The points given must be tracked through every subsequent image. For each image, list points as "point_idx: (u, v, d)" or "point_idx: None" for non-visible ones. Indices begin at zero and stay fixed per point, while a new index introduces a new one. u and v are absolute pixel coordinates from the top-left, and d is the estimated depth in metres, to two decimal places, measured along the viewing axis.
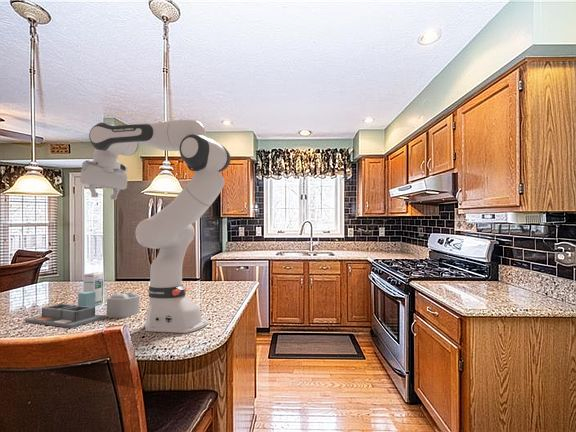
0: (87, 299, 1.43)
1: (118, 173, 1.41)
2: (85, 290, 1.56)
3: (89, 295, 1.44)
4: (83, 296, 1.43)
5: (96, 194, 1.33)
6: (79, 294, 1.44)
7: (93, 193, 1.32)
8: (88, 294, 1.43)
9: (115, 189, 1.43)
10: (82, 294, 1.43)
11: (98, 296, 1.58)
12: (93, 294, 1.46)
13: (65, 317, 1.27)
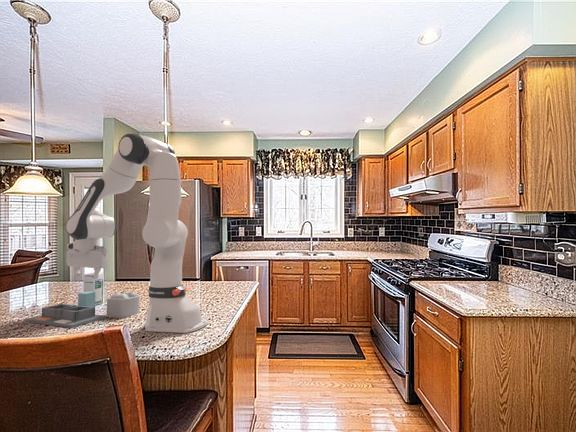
0: (87, 299, 1.43)
1: None
2: (85, 290, 1.56)
3: (89, 295, 1.44)
4: (83, 296, 1.43)
5: None
6: (79, 294, 1.44)
7: (96, 275, 1.44)
8: (88, 294, 1.43)
9: (78, 267, 1.48)
10: (82, 294, 1.43)
11: (98, 296, 1.58)
12: (93, 294, 1.46)
13: (65, 317, 1.27)
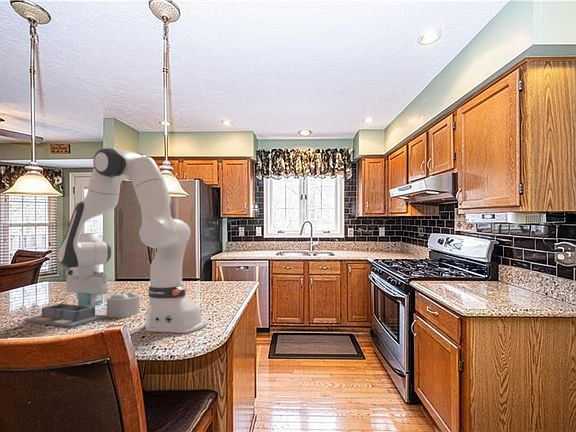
0: (87, 299, 1.43)
1: None
2: None
3: (89, 295, 1.44)
4: (83, 296, 1.43)
5: None
6: (79, 294, 1.44)
7: (93, 301, 1.44)
8: (88, 294, 1.43)
9: None
10: (82, 294, 1.43)
11: (98, 296, 1.58)
12: None
13: (65, 317, 1.27)
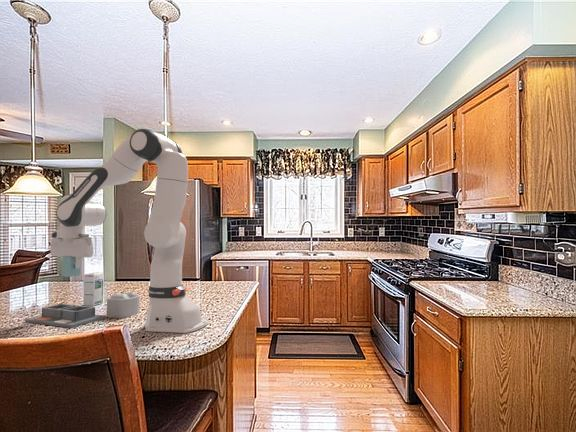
0: (71, 262, 1.36)
1: None
2: (85, 290, 1.56)
3: (74, 258, 1.38)
4: (67, 259, 1.37)
5: None
6: (63, 257, 1.37)
7: (78, 264, 1.38)
8: (73, 257, 1.37)
9: None
10: (66, 257, 1.37)
11: (98, 296, 1.58)
12: None
13: (65, 317, 1.27)
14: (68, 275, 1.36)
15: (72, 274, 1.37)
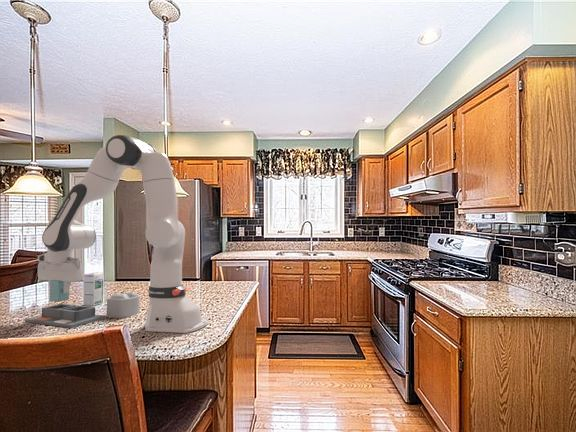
0: (59, 287, 1.32)
1: None
2: (85, 290, 1.56)
3: (62, 282, 1.33)
4: (55, 283, 1.32)
5: None
6: (51, 281, 1.33)
7: (66, 289, 1.33)
8: (61, 281, 1.32)
9: None
10: (54, 281, 1.32)
11: (98, 296, 1.58)
12: None
13: (65, 317, 1.27)
14: (56, 300, 1.31)
15: (60, 299, 1.32)
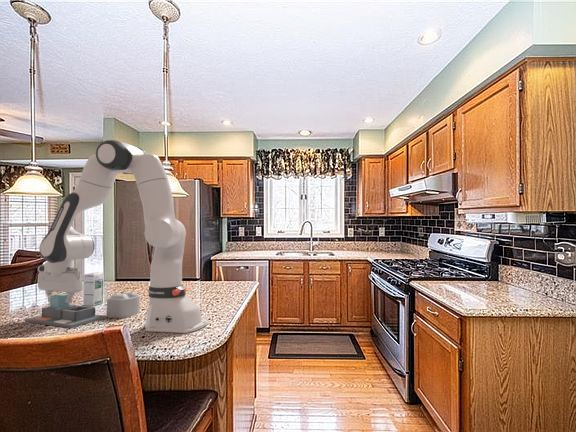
0: (59, 302, 1.31)
1: None
2: (85, 290, 1.56)
3: (62, 298, 1.33)
4: (55, 299, 1.32)
5: None
6: (51, 297, 1.32)
7: (70, 299, 1.32)
8: (61, 297, 1.32)
9: (51, 290, 1.36)
10: (54, 297, 1.32)
11: (98, 296, 1.58)
12: None
13: (65, 317, 1.27)
14: None
15: None
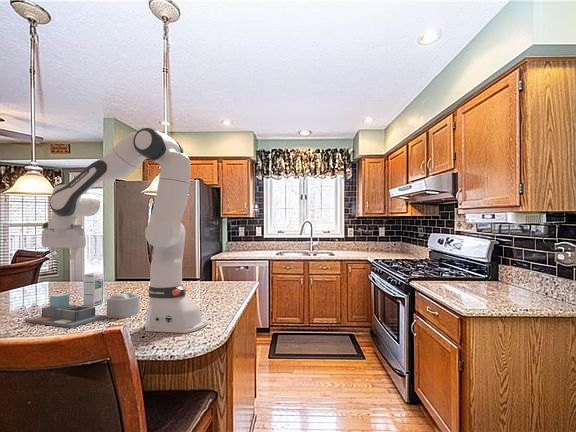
0: (59, 302, 1.31)
1: None
2: (85, 290, 1.56)
3: (62, 298, 1.33)
4: (55, 299, 1.32)
5: None
6: (51, 297, 1.32)
7: (73, 255, 1.35)
8: (61, 297, 1.32)
9: (55, 248, 1.39)
10: (54, 297, 1.32)
11: (98, 296, 1.58)
12: (67, 297, 1.34)
13: (65, 317, 1.27)
14: None
15: None
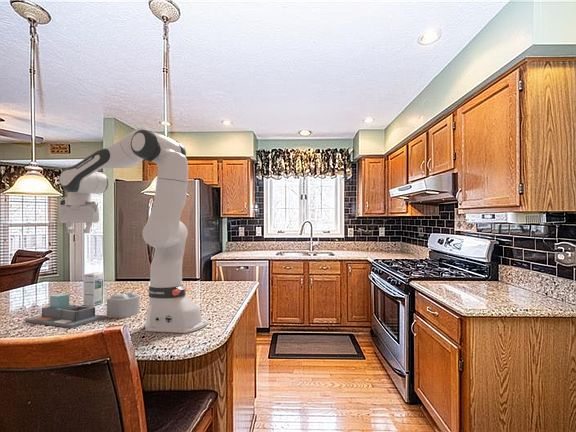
0: (59, 302, 1.31)
1: None
2: (85, 290, 1.56)
3: (62, 298, 1.33)
4: (55, 299, 1.32)
5: None
6: (51, 297, 1.32)
7: (88, 230, 1.48)
8: (61, 297, 1.32)
9: (71, 223, 1.52)
10: (54, 297, 1.32)
11: (98, 296, 1.58)
12: (67, 297, 1.34)
13: (65, 317, 1.27)
14: None
15: None
